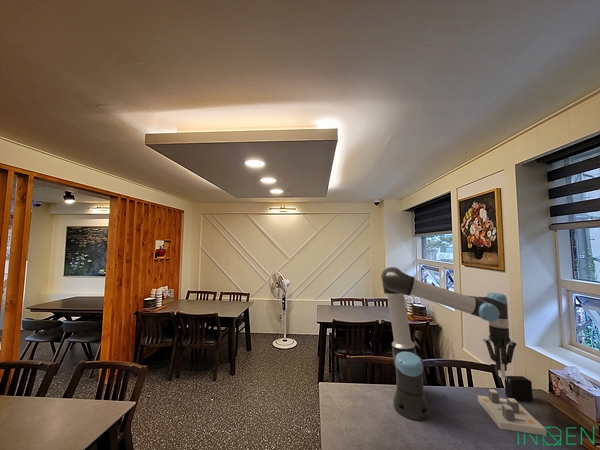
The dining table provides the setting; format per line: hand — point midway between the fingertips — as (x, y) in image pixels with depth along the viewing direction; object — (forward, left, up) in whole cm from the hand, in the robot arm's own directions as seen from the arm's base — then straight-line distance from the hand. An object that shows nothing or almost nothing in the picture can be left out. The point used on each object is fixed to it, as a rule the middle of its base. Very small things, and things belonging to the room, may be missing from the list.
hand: (501, 377), depth 114 cm
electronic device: (+12, +10, -14) cm, 21 cm away
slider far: (-4, 0, -11) cm, 12 cm away
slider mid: (+1, -6, -11) cm, 13 cm away
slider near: (-4, -12, -11) cm, 17 cm away
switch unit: (-1, -6, -14) cm, 15 cm away
